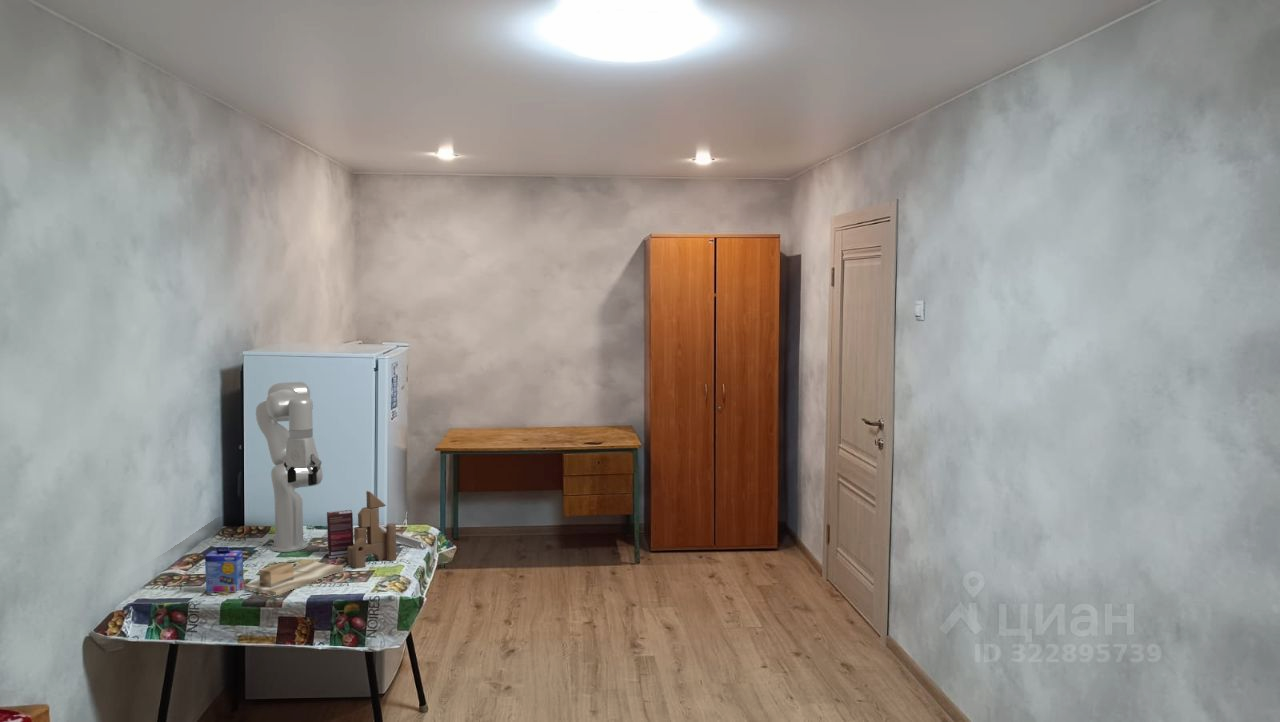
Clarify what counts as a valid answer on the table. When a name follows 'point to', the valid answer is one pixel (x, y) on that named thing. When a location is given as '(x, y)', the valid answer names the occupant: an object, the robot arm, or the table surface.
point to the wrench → (407, 539)
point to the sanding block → (276, 574)
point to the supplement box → (339, 533)
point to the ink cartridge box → (224, 570)
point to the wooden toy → (372, 536)
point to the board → (298, 578)
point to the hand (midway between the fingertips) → (302, 483)
